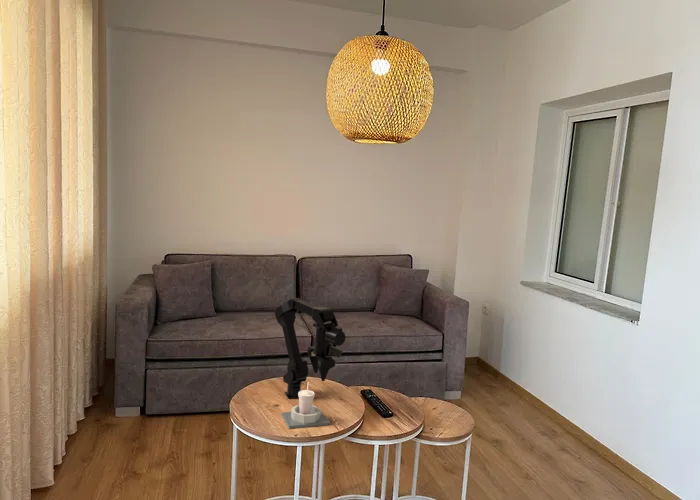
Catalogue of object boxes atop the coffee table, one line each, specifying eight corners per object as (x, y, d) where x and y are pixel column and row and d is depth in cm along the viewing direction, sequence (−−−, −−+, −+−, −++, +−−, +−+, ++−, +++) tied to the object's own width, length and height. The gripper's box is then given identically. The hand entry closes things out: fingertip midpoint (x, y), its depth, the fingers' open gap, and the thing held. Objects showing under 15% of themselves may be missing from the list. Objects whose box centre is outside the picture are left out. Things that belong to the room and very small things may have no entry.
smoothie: (303, 422, 193) (305, 386, 191) (293, 416, 198) (295, 380, 196) (316, 418, 197) (319, 383, 196) (306, 412, 202) (308, 377, 200)
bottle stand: (281, 415, 200) (281, 405, 200) (320, 411, 206) (320, 402, 206) (289, 428, 189) (289, 418, 188) (330, 424, 195) (330, 414, 195)
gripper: (349, 345, 201) (346, 384, 203) (333, 332, 218) (330, 368, 220) (322, 346, 197) (319, 385, 199) (308, 333, 214) (305, 369, 216)
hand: (319, 376), depth 208 cm, fingers open, 9 cm apart
